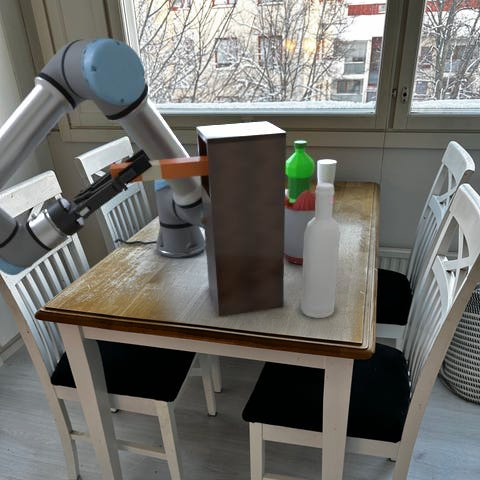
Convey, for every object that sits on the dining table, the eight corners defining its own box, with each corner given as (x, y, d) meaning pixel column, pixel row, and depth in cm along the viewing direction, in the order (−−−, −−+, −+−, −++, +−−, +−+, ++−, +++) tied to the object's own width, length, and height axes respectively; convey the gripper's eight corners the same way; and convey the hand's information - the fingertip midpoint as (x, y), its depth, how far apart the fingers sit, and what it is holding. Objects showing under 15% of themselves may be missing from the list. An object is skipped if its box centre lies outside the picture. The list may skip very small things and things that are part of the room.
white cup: (337, 184, 201) (339, 160, 195) (330, 188, 195) (332, 164, 190) (320, 182, 204) (322, 158, 199) (313, 186, 199) (314, 162, 193)
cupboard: (267, 281, 125) (267, 121, 104) (283, 307, 113) (286, 132, 92) (205, 290, 122) (191, 127, 101) (214, 317, 110) (201, 139, 89)
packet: (112, 184, 94) (110, 169, 93) (112, 178, 98) (110, 163, 96) (219, 174, 98) (218, 159, 96) (215, 169, 102) (214, 154, 100)
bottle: (316, 322, 107) (324, 193, 91) (294, 308, 112) (297, 184, 96) (341, 311, 111) (353, 185, 95) (318, 298, 116) (325, 177, 100)
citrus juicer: (311, 241, 148) (314, 177, 137) (340, 262, 134) (347, 193, 123) (266, 250, 143) (266, 185, 133) (292, 272, 129) (294, 201, 119)
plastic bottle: (281, 217, 168) (282, 144, 155) (288, 207, 176) (289, 138, 163) (308, 219, 165) (311, 145, 152) (314, 209, 173) (317, 139, 160)
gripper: (39, 222, 88) (137, 150, 86) (49, 196, 103) (133, 133, 101) (67, 251, 93) (162, 183, 90) (73, 222, 107) (155, 163, 105)
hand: (147, 157), depth 95 cm, fingers closed on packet, 5 cm apart
